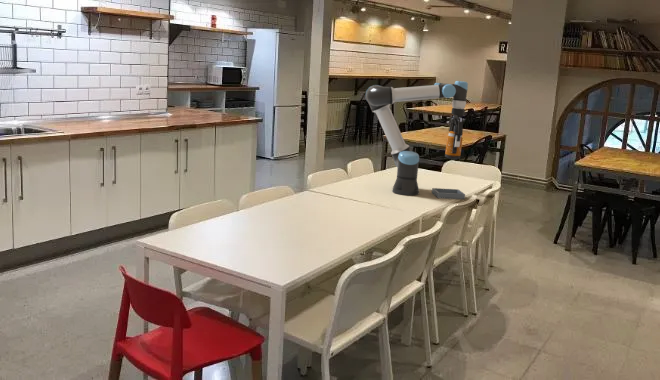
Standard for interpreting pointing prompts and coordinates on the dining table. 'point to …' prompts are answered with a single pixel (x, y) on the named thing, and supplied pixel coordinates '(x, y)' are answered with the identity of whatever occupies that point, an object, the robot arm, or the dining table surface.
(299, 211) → the dining table surface
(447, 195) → the bin
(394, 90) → the robot arm
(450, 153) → the canister
